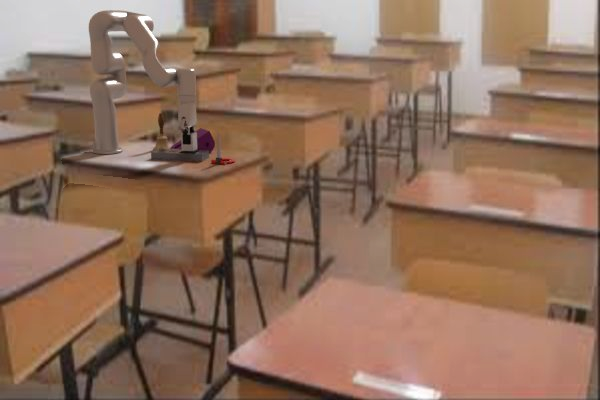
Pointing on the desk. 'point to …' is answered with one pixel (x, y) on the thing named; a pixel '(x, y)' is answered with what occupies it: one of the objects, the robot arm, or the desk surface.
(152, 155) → the grey tray
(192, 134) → the white cylinder
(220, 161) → the red scissors
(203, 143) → the mounting bracket
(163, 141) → the hand bell
